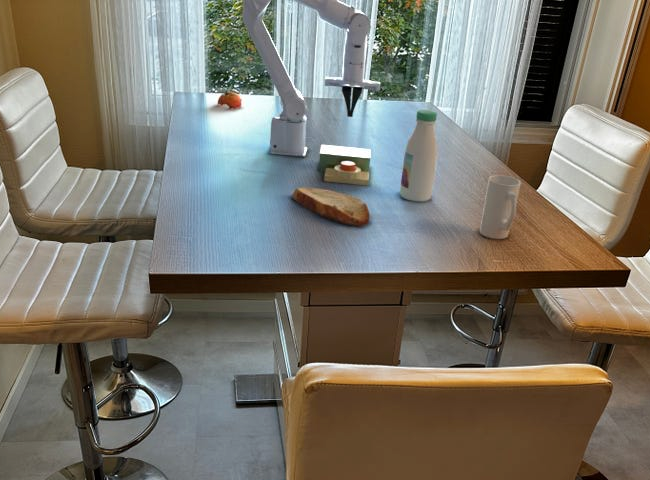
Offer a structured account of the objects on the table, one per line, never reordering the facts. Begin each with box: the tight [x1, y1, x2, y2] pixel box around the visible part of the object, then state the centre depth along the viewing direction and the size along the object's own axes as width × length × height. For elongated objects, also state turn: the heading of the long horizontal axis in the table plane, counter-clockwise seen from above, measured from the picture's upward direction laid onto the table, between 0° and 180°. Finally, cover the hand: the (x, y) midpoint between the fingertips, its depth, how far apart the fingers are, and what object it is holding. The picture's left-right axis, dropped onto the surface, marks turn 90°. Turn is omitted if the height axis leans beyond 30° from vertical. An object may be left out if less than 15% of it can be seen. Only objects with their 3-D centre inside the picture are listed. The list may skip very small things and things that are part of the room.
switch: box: [340, 161, 355, 171], centre depth 174 cm, size 4×4×2 cm
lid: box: [319, 144, 372, 161], centre depth 181 cm, size 8×13×1 cm, turn 88°
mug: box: [479, 174, 522, 240], centre depth 149 cm, size 10×7×12 cm, turn 15°
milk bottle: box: [399, 109, 439, 202], centre depth 165 cm, size 8×8×20 cm
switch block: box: [323, 165, 370, 186], centre depth 176 cm, size 11×7×3 cm, turn 88°
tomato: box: [217, 90, 243, 110], centre depth 228 cm, size 8×7×7 cm
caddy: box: [318, 154, 371, 173], centre depth 183 cm, size 7×13×4 cm, turn 88°
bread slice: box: [291, 187, 370, 227], centre depth 156 cm, size 18×18×4 cm
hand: (350, 116), depth 190 cm, fingers closed
